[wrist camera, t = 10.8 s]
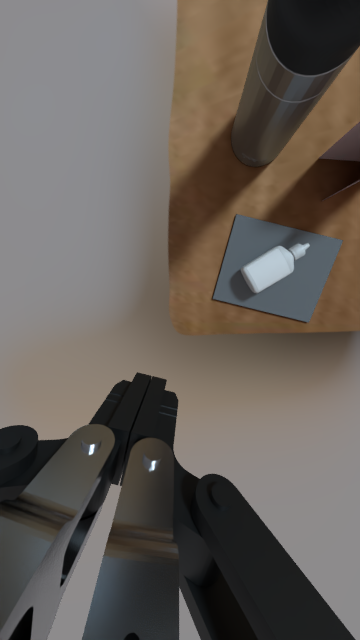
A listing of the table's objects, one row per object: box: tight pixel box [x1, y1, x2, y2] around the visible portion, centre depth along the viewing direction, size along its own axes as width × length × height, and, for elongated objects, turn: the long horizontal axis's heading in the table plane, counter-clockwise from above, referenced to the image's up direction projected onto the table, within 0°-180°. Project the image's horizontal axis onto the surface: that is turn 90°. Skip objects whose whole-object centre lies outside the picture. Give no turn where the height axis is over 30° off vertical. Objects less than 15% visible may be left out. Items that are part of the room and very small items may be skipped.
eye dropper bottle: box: [241, 243, 310, 293], centre depth 37 cm, size 4×6×12 cm
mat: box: [213, 214, 343, 322], centre depth 39 cm, size 16×20×1 cm
